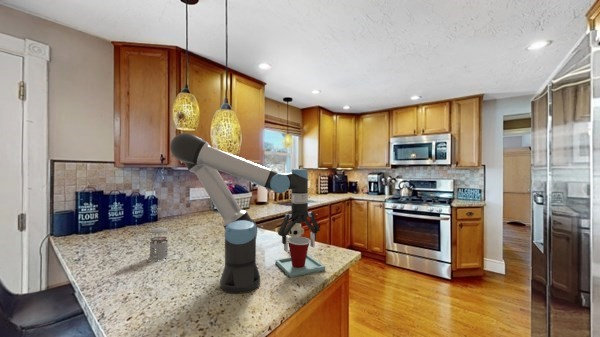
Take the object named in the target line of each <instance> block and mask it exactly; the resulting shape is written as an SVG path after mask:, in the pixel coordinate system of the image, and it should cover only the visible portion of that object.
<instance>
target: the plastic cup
mask: <svg viewBox="0 0 600 337" xmlns="http://www.w3.org/2000/svg"><path fill="white" fill-rule="evenodd" d="M310 242H311V241H310V238H308V237H303V236H299V237H291V236H289V237H288V250H289V255H290V256H289V257H291V261H292V266H293V267H296V268H301V267H304V266H305V261H306V256H307V254H308V251H309V247H310Z"/></svg>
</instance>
